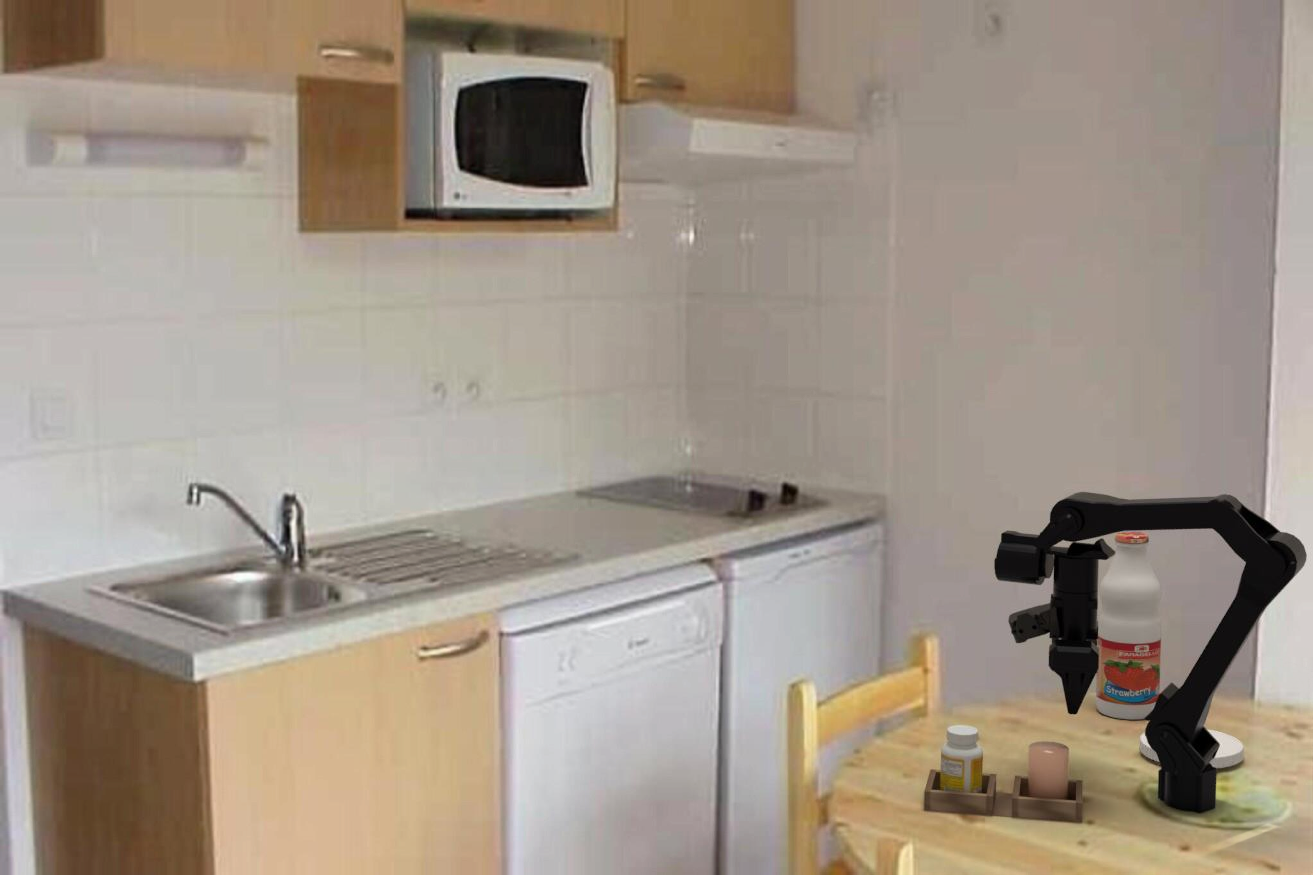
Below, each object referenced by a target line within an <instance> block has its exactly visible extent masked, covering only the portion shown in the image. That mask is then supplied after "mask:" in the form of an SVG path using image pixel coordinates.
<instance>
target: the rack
mask: <svg viewBox="0 0 1313 875" xmlns="http://www.w3.org/2000/svg"><path fill="white" fill-rule="evenodd" d="M940 778H941V769H933V768H931V769H929V774H928V777H927V780H926V784H925V787H924V792H923V799H924V800H923V808H924V809H923V810H924V811H925V812H939V813H949V814H950V813H953V814H965V815H977V816H987V817H988V816H989V817H1001V818H1013V819H1015V818H1016V819H1027V820H1038V821H1039V820H1040V821H1041V820H1042V821H1049V822H1051V821H1053V822H1062V823H1063V822H1064V823H1074V824H1076V823H1078V824H1082V823H1083V800H1084V798H1083V792H1084V791H1083V789H1084V786H1083V785H1084V781H1083V780H1082V779H1069V778H1068V800H1059V799H1046V798H1033V797H1028V775H1014V781H1013V787H1012V788H1013V789H1012V793H1008V792H999V791H998V792H997V773H987V772H982V794H981V793H968V792H955V791H941V790H940Z"/></svg>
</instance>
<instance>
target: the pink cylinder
mask: <svg viewBox="0 0 1313 875" xmlns="http://www.w3.org/2000/svg"><path fill="white" fill-rule="evenodd" d="M1069 758H1070V749H1069V746H1067V745H1066V744H1064V743H1060V742H1055V741H1046V740H1045V741H1044V740H1043V741H1035V742H1033V743H1030V744H1029V745H1028V762H1027V763H1028V766H1027V767H1028V768H1027V772H1028V773H1027V776H1028V797H1033V798H1046V799H1059V800H1068V779H1069V769H1070V768H1069V766H1070V764H1069V761H1070V760H1069Z"/></svg>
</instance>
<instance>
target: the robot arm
mask: <svg viewBox="0 0 1313 875" xmlns="http://www.w3.org/2000/svg"><path fill="white" fill-rule="evenodd" d="M1207 529H1210V530H1213V531H1215V532H1216V533H1217V534H1218V535H1219V536H1220V537H1221V538H1222V539H1223V540H1224V541H1225V543H1226V544H1227V545H1228V546H1229V548H1230V549H1231V550H1232V551H1233V552H1234V553H1235V554H1236V555H1237V556H1238V557H1239V558H1240V559H1241V560H1242V561H1243V562H1245V564H1244V567H1243V569H1242V573H1241V574H1240V579H1239V584H1238V586H1237V591H1236V594H1235V597H1234V599H1233V600H1232V602H1231V604H1230V605H1229V607H1228V609H1227V610H1226V612H1225V614H1224V615H1223V617H1222V619H1221V620H1220V621H1219V623H1218V625H1217V627H1216V628H1215V631H1214V632H1213V634H1212V635H1211V636H1210V638H1209V640H1208V642H1207V643H1206V646H1204V649H1203V651H1202V652H1201V654H1200V655H1199V657H1198V659H1197V661H1196V662H1195V663H1194V665H1193V667H1192V668H1191V670H1190V672H1189V674H1188V675H1187V676H1186V678H1185V680H1184V682H1183V684H1182V685H1181V686H1180V687H1179V686H1177V684H1175V683H1173V682H1170V683H1169V685H1167V686H1166V687H1165V688H1164V689H1163V690H1162V691H1161V692H1159V696H1158V698H1157V701H1156V704H1155V707H1154V709H1153V710H1152V711H1151V712H1150V713H1149V714H1148V715H1147V716H1146V717H1145V718H1144V719H1143V720H1144V721H1148V723H1147V724H1146V727H1145V729H1144V733H1145V736H1146V738H1147V742H1148V744H1149V745H1150V747H1151V748H1152V749H1153V750H1154V751H1155V752H1156V753H1157V756H1158V759H1159V762H1158V763H1159V764H1160V769H1159V770H1158V774H1157V775H1158V776H1157V777H1158V778H1157V799H1159V800H1160V801H1161V802H1164V804H1165V805H1166V806H1167V807H1169V808H1171V809H1174V810H1177V811H1181V812H1189V813H1197V814H1203V813H1206V812H1209V811H1211V810H1215V809H1216V805H1217V804H1216V802H1217V801H1216V799H1217V774H1218V772H1217V771H1218V770H1217V769H1218V768H1215V767H1212V765H1211V764H1210V761H1211V760H1212V759H1214V757H1215V756H1216V753H1217V751H1218V749H1219V747H1220V744H1219V742H1218V741H1217V740H1216V739H1215V738H1214V737H1213V736H1212V735H1211V734H1210V732H1209V731H1208V730H1209V729H1208V728H1206V727H1205V724H1206V720H1207V718H1208V716H1209V713H1210V709H1211V705H1212V700H1213V698H1214V695H1215V693H1216V691H1217V689H1218V687H1219V686H1220V684H1221V682H1222V681H1223V680H1224V678H1225V677H1226V675H1227V673H1228V672H1229V669H1231V667H1232V665H1233V664H1234V661H1235V659H1236V658H1237V656H1238V655H1239V653H1240V651H1241V650H1242V649H1243V647H1244V645H1245V643H1246V642H1247V641H1248V638H1249V637H1250V635H1251V634H1252V632H1253V630H1254V629H1255V627H1256V625H1257V624H1258V622H1259V620H1260V618H1261V617H1262V615H1263V614H1264V612H1265V611H1266V609H1267V608H1268V607H1269V605H1270V604H1271V603H1272V602H1273V600H1275V599H1276V598H1277V596H1278V595H1279V594H1281V592H1282V591H1284V589H1285V588H1286V587H1287V585H1289V584H1290V582H1291V581H1292V580H1293V579H1294V578H1295V577H1296V576H1297V575H1298V573H1299V572H1300V571H1301V570H1302V569H1303V567H1304V566H1305V564H1306V562H1307V556H1308V555H1307V551H1306V549H1305V546H1304V544H1303V542H1302V540H1300V539H1299V538H1298V537H1296V536H1295V535H1294V534H1291V533H1289V532H1287V531H1286V532H1284V531H1281V530H1279V529H1278V528H1276V527H1275V525H1273V524H1272V523H1271V522H1270V521H1268V520H1266V519H1265V518H1264V517H1262V516H1261V515H1259V514H1257V513H1256V512H1254V511H1252V510H1251V509H1250V508H1248V507H1247V506H1246V505H1244V504H1243V503H1242V502H1241V501H1240V500H1239V499H1238V498H1237V497H1236V496H1233V495H1232V494H1227V493H1225V494H1224V493H1223V494H1220V495H1215V496H1198V497H1196V496H1195V497H1193V496H1192V497H1191V496H1190V497H1188V496H1187V497H1166V498H1141V499H1140V498H1137V499H1136V498H1135V499H1127V498H1120V497H1116V496H1112V495H1109V494H1102V493H1094V492H1088V491H1080V492H1075V493H1073V494H1070V495H1069V496H1066V497H1065V498H1063V499H1062V498H1061V499H1060V500H1059V501H1057V502H1056V503H1055V504H1054V505H1053V506H1052V508H1051V511H1050V513H1049V522H1048V524H1047V525H1046V526H1045V528H1044V529H1043V530H1042V531H1040V532H1039V534H1033V533H1031V534H1030V533H1025V532H1024V533H1023V532H1019V531H1015V530H1005V531H1004V532H1002V533H1001V534H1000V535H1001V536H1000V542H999V545H998V546H997V551H996V554H995V555H996V557H994V561H993V563H994V565H993V566H994V567H993V569H994V574H995V577H996V579H997V581H998V582H999V581H1000V582H1007V583H1009V582H1010V583H1018V584H1026V585H1027V584H1028V585H1037V586H1041V585H1043V584H1044V581H1045V580H1046V579H1050V578H1051V577H1052V575H1053V580H1052V581H1053V584H1052V585H1053V586H1052V587H1053V588H1052V589H1053V590H1052V593H1051V594H1050V600H1049V602H1048V603H1044V604H1039V605H1036V606H1032V607H1030V608H1029V607H1028V608H1026V609H1022V610H1019V611H1016V612H1013V613H1011V614H1009V616H1008V624H1009V627H1010V632H1011V635H1013V639H1014V642H1015V643H1016V644H1023V643H1026V642H1027V640H1030V639H1035V638H1038V637H1041V636H1045V635H1047V634H1049V639H1051V643H1050V645H1049V647H1048V667H1049V669H1050V670H1051V671H1052V672H1054V673H1055V674H1056V675H1057V676H1058V677H1060V679H1061V683H1062V689H1063V693H1064V698H1065V704H1066V709H1067V710H1066V711H1067V714H1069V715H1077V714H1078V712H1079V710H1080V708H1081V706H1082V704H1083V701H1084V700H1085V697H1086V695H1087V693H1088V691H1089V689H1090V687H1091V685H1092V683H1093V680H1094V678H1095V676H1097V671H1098V669H1099V648H1098V647H1097V641H1098V621H1099V620H1098V604H1099V566H1100V565H1099V560H1100V561H1107V560H1109V559H1111V558H1112V557H1114V555H1115V552H1116V551H1115V549H1113V548H1112V547H1111V546H1110V545H1108V543H1107V542H1106V540H1105V539H1104V538H1099V537H1102V536H1103V537H1104V536H1107V535H1112V534H1116V533H1118V532H1124V531H1134V532H1138V531H1166V530H1167V531H1169V530H1170V531H1171V530H1207ZM1095 538H1099V539H1098V540H1096V541H1095V542H1094V543H1089V542H1079V541H1086V540H1090V539H1095ZM1062 541H1065V542H1069V543H1070V544H1069V546H1068V547H1066V546H1065V547H1064V546H1055V545H1057V544H1059V543H1061V542H1062ZM1207 729H1208V730H1207Z"/></svg>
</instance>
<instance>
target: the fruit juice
mask: <svg viewBox="0 0 1313 875" xmlns="http://www.w3.org/2000/svg"><path fill="white" fill-rule="evenodd" d="M1149 540H1150V539H1149V535H1148V534H1147V533H1146V532H1141V531H1121V532H1116V533H1115V537H1114V541H1115V545H1116V551H1115V555H1114V556H1112V557H1113V558H1112V560H1111V563H1110V566H1109V568H1108V570H1107V571H1106V574H1105V575H1104V577H1103V578H1102V580H1101V582H1100V586H1099V596H1100V600H1101V606H1102V609H1101V612H1100V615H1099V617H1098V620H1097V621H1098V639H1097V647H1098V648H1099V669H1098V671H1097V673H1096V681H1095V682H1096V683H1095V684H1096V685H1095V686H1096V691H1095V694H1096V695H1095V705H1096V710H1097V711H1098V712H1099V713H1100V714H1102V715H1105V716H1107V717H1111V718H1113V719H1114V718H1115V719H1119V720H1120V719H1121V720H1133V721H1134V720H1136V721H1137V720H1145V719H1144V718H1145V717H1146V716H1147V715H1148V714H1149V713H1150V712H1151V711H1152V710H1153V709H1154V707H1155V704H1156V701H1157V698H1158V696H1159V694H1160V690H1161V689H1160V688H1161V687H1160V685H1161V684H1160V682H1161V681H1160V680H1161V651H1162V650H1161V649H1162V622H1161V618H1160V615H1159V610H1158V609H1159V605H1160V603H1161V599H1162V586H1161V583H1160V581H1159V580H1158V578H1157V576H1156V575H1155V571H1154V569H1153V566H1152V563H1151V560H1150V557H1149V554H1148V550H1147V547H1148V545H1149V542H1150V541H1149Z"/></svg>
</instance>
